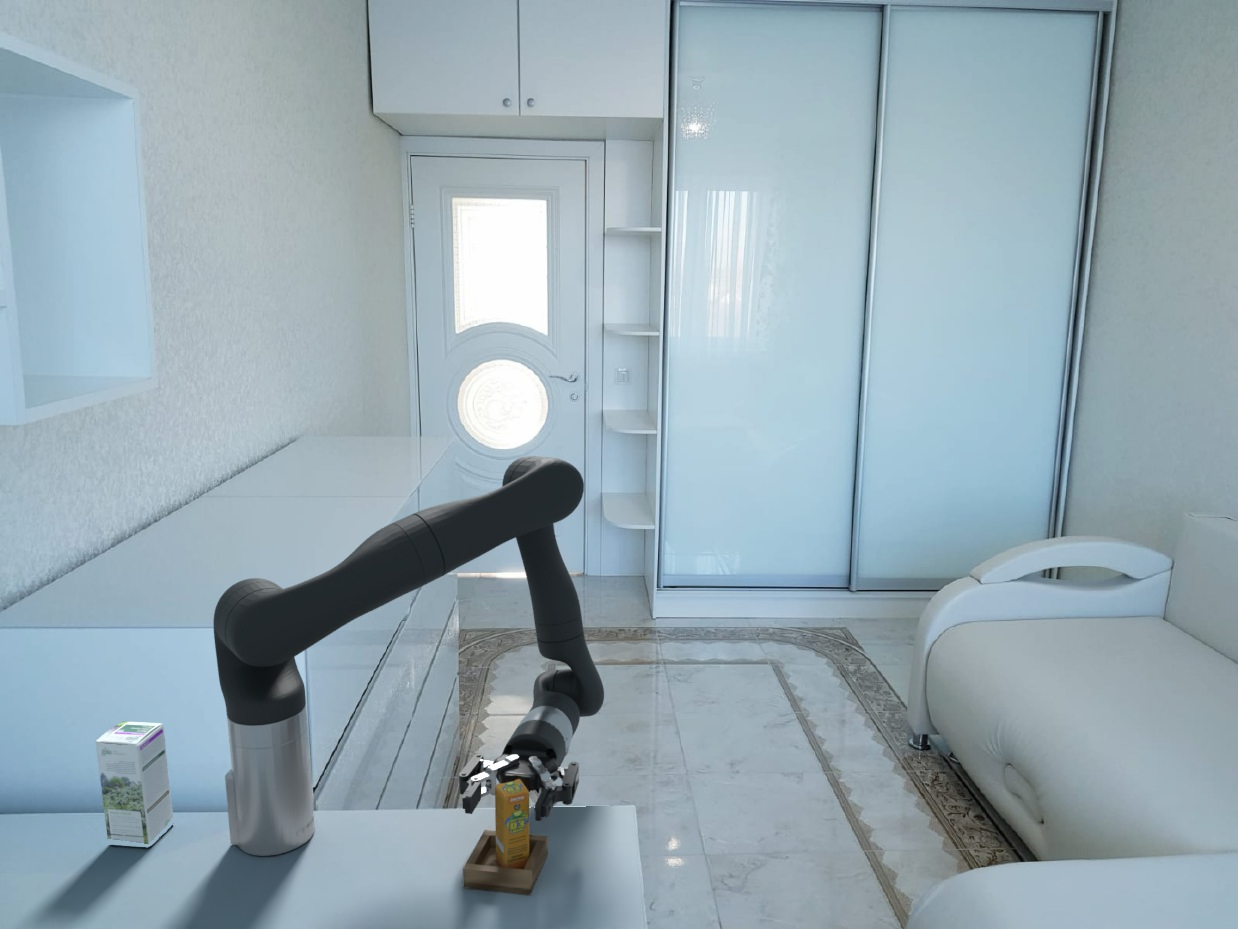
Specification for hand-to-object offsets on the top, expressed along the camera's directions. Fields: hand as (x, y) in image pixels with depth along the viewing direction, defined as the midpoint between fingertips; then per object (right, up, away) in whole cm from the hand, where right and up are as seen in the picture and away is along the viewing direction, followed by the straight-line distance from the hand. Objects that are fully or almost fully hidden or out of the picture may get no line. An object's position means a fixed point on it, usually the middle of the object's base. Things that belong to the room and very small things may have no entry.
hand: (502, 810), depth 110 cm
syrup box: (-47, -7, +10) cm, 49 cm away
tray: (0, -8, +3) cm, 9 cm away
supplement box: (+1, -8, +3) cm, 8 cm away
